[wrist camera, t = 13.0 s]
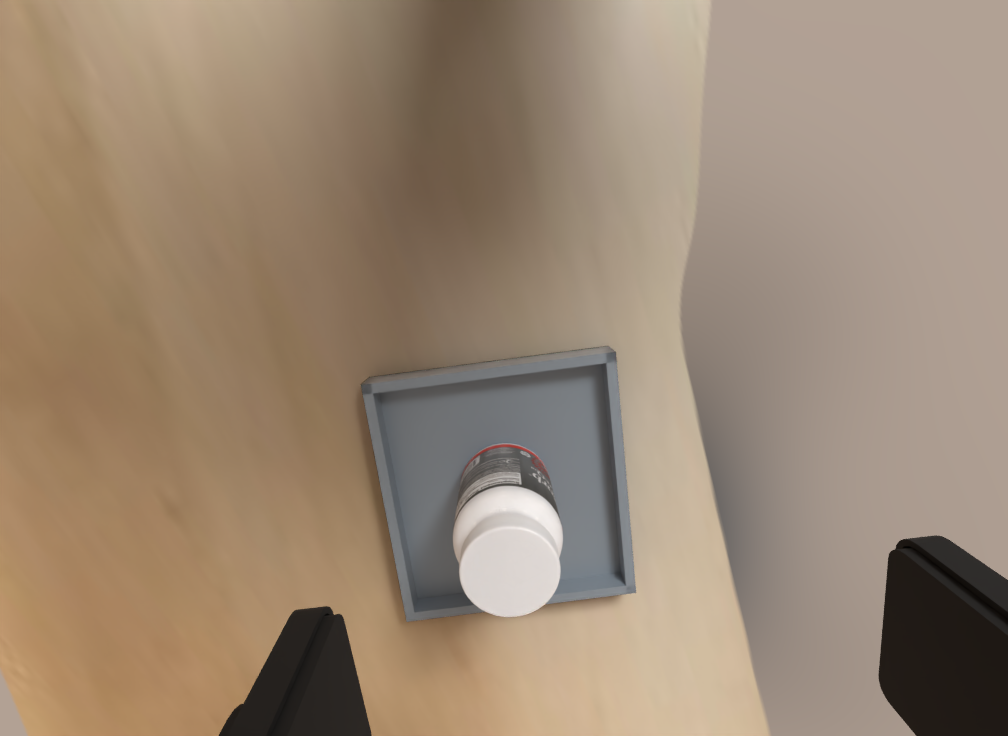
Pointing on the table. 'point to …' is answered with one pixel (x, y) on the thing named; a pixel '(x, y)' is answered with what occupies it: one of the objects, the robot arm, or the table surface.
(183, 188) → the table surface
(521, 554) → the pill bottle
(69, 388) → the table surface
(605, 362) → the slate tray
